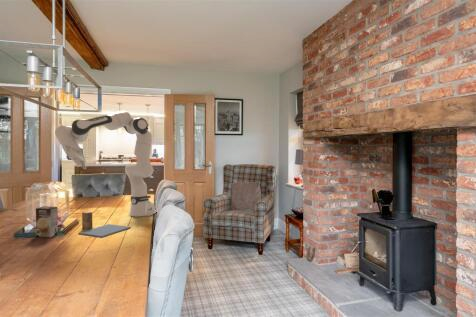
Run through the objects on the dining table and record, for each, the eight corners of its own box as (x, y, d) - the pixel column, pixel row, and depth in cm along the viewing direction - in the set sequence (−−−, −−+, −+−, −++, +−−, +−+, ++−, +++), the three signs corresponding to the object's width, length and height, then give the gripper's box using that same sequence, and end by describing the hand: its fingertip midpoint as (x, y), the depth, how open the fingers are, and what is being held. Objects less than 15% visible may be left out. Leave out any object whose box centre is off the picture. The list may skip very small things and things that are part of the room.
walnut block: (87, 227, 190) (87, 211, 190) (92, 228, 189) (92, 212, 188) (82, 229, 187) (82, 212, 186) (87, 229, 185) (86, 213, 185)
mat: (108, 225, 195) (108, 224, 195) (130, 228, 188) (130, 226, 188) (78, 234, 175) (78, 232, 175) (101, 237, 168) (101, 236, 168)
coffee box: (35, 237, 170) (34, 208, 169) (43, 233, 176) (43, 206, 176) (50, 237, 169) (50, 208, 168) (58, 234, 175) (58, 206, 175)
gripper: (70, 142, 183) (81, 161, 182) (82, 149, 203) (92, 167, 202) (59, 147, 182) (71, 167, 181) (73, 154, 202) (83, 172, 200)
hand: (82, 167), depth 191 cm, fingers open, 8 cm apart
